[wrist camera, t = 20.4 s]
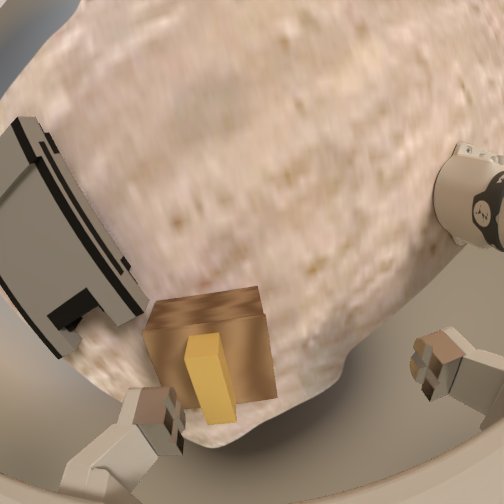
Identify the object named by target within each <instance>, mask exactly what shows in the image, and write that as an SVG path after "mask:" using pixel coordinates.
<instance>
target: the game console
mask: <svg viewBox="0 0 504 504" xmlns="http://www.w3.org/2000/svg"><path fill="white" fill-rule="evenodd" d="M130 267H131V266H130V264H129V263H128V261H127V260H126V259H125V257H124V255H123V254H122V253H121V251H120V250H119V248H118V247H117V245H116V244H115V242H114V241H113V239H112V238H111V236H110V235H109V233H108V232H107V230H106V229H105V227H104V226H103V224H102V223H101V221H100V220H99V218H98V216H97V215H96V213H95V212H94V210H93V209H92V207H91V205H90V204H89V202H88V200H87V199H86V197H85V196H84V194H83V192H82V191H81V189H80V187H79V185H78V184H77V182H76V180H75V179H74V177H73V175H72V173H71V172H70V170H69V168H68V166H67V165H66V163H65V161H64V159H63V157H62V155H61V154H60V152H59V150H58V149H57V147H56V145H55V143H54V141H53V139H52V137H51V135H50V133H44V131H43V129H42V127H41V125H40V123H38V121H37V119H36V117H17V118H16V119H15V120H14V121H13V122H12V123H11V125H10V126H9V127H8V128H7V129H6V130H5V132H4V133H3V134H2V135H1V136H0V285H1V287H2V288H3V290H4V291H5V292H6V294H7V295H8V297H9V298H10V300H11V301H12V303H13V304H14V305H15V307H16V308H17V309H18V311H19V312H20V314H21V315H22V316H23V318H24V319H25V320H26V321H27V323H28V324H29V325H30V327H31V328H32V329H33V330H34V332H35V333H36V334H37V335H38V336H39V338H40V339H41V340H42V341H43V343H44V344H45V345H46V346H47V347H48V348H49V349H50V351H51V352H52V353H53V354H54V355H55V356H56V357H57V358H58V359H60V358H62V357H64V356H66V355H68V354H69V353H71V352H73V351H75V350H76V348H77V347H78V345H79V343H80V342H81V340H82V338H81V336H80V335H79V334H78V333H77V332H76V330H75V328H76V327H77V325H78V324H79V322H80V321H81V319H82V317H81V316H82V315H84V314H85V313H87V312H89V311H90V310H92V309H93V308H95V307H97V306H99V307H100V308H101V309H102V311H103V312H104V311H105V312H106V313H107V314H108V316H109V317H110V318H111V319H112V320H113V322H114V323H115V324H116V325H117V327H119V326H120V325H122V324H124V323H126V322H128V321H129V320H131V319H133V318H135V317H137V316H139V315H140V314H142V313H144V312H145V310H146V307H147V305H148V303H149V299H148V298H147V296H146V295H145V294H144V292H143V291H142V290H141V289H140V287H139V286H138V283H137V282H136V280H135V279H134V278H133V276H132V275H131V274H130V272H129V271H128V270H129V269H130Z"/></svg>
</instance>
